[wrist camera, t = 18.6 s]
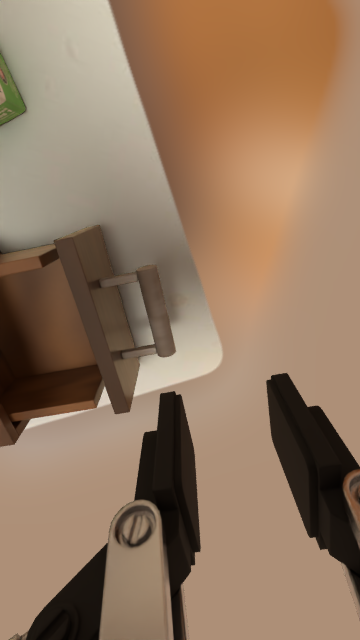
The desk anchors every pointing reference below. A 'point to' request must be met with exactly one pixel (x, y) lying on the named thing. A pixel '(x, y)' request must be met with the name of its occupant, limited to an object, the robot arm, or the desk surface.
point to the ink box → (8, 96)
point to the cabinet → (10, 427)
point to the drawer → (72, 328)
